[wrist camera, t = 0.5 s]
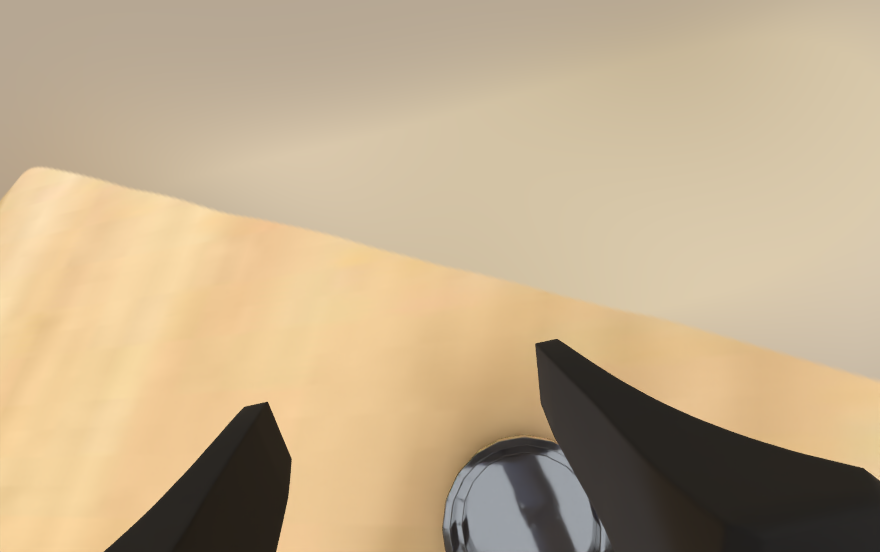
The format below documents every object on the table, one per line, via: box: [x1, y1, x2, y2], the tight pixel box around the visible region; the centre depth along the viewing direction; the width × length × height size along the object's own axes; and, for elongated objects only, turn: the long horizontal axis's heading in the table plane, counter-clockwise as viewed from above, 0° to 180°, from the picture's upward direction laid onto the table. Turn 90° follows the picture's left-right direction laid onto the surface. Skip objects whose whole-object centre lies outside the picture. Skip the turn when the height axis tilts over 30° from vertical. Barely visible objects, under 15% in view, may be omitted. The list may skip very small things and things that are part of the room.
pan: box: [442, 435, 614, 552], centre depth 35 cm, size 13×13×4 cm
